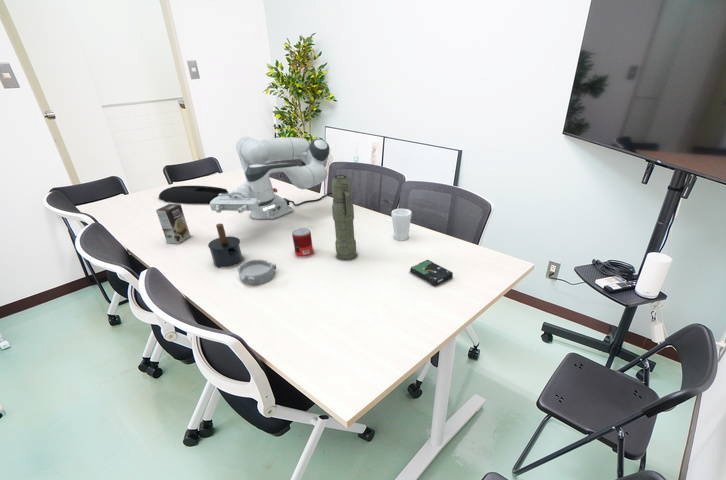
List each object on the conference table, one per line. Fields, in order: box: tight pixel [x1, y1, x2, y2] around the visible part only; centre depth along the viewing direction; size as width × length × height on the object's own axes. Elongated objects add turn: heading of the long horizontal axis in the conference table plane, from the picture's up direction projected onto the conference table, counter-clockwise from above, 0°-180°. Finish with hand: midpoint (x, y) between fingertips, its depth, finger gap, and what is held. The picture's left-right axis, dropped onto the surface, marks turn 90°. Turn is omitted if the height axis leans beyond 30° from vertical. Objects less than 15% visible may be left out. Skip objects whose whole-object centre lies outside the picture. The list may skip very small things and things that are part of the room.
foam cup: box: [390, 208, 413, 241], centre depth 186 cm, size 10×9×13 cm
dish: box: [237, 259, 277, 286], centre depth 155 cm, size 14×14×5 cm
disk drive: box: [409, 259, 454, 287], centre depth 158 cm, size 10×3×15 cm
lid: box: [207, 223, 241, 250], centre depth 161 cm, size 12×12×9 cm
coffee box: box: [155, 203, 191, 245], centre depth 181 cm, size 9×6×16 cm
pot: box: [209, 244, 244, 269], centre depth 165 cm, size 11×17×8 cm
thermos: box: [331, 174, 357, 261], centre depth 163 cm, size 9×12×35 cm
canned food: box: [291, 227, 314, 258], centre depth 171 cm, size 8×8×11 cm
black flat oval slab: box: [158, 185, 229, 205], centre depth 234 cm, size 25×40×5 cm, turn 82°
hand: (228, 211), depth 167 cm, fingers open, 8 cm apart
